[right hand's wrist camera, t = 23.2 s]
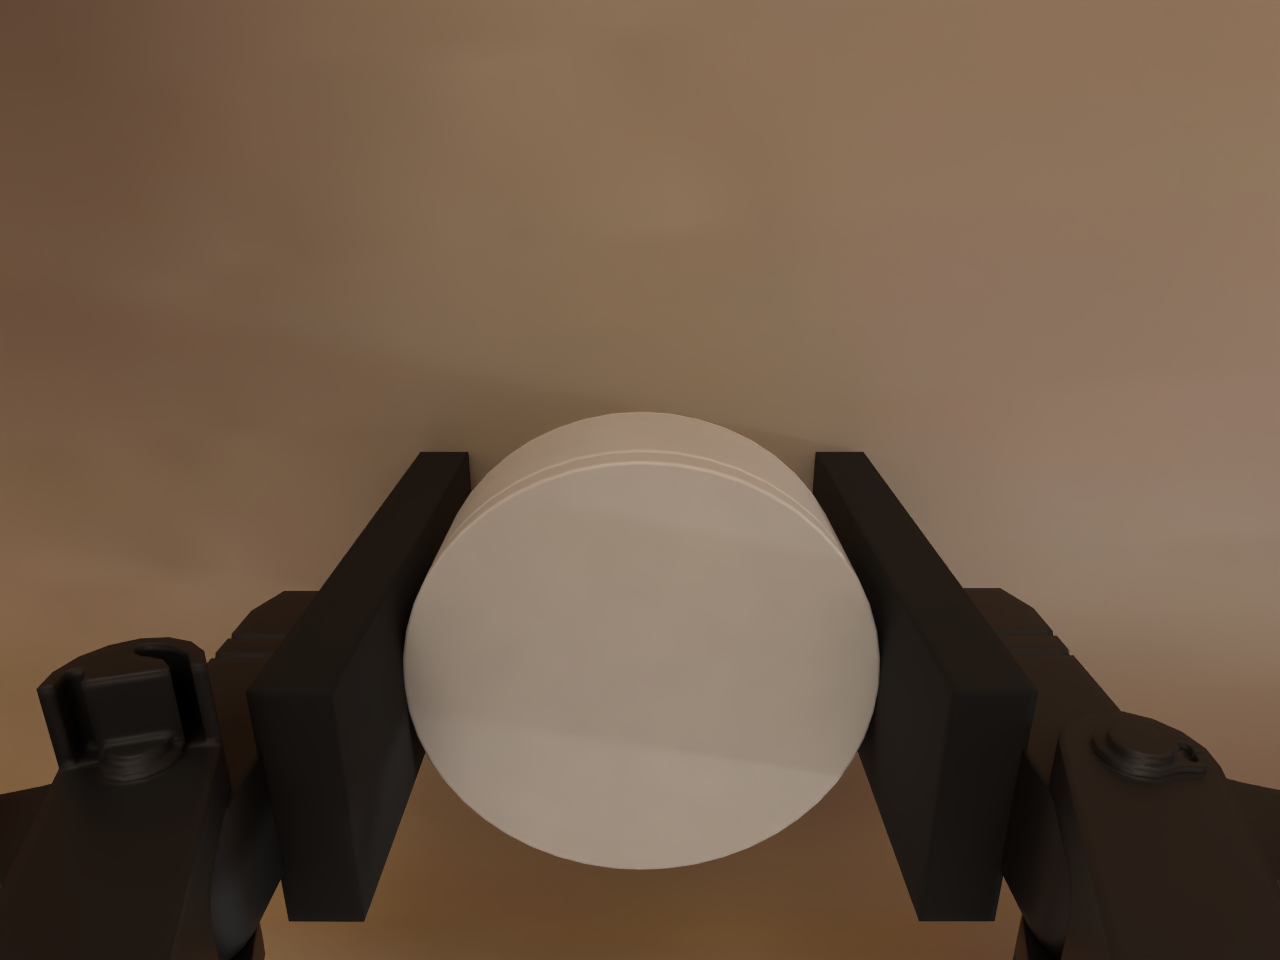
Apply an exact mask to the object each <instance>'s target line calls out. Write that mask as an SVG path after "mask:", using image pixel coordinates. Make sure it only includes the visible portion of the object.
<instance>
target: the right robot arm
mask: <svg viewBox="0 0 1280 960" xmlns="http://www.w3.org/2000/svg"><path fill="white" fill-rule="evenodd" d="M470 493H471V485H470V471H469V458H468V452H420V454H419V455H418V456H417V458H416V459H415V461H414V462H413V463H412V465H411V466H410V467H409V469H408V470H407V471H406V473H405V474H404V476H403V477H402V478H401V480H400V481H399V482H398V484H397V485H396V486H395V488H394V489H393V491H392V492H391V493H390V495H389V496H388V497H387V499H386V500H385V501H384V503H383V504H382V506H381V507H380V508H379V510H378V511H377V512H376V514H375V515H374V517H373V518H372V519H371V521H370V522H369V523H368V525H367V526H366V527H365V529H364V530H363V532H362V533H361V534H360V536H359V537H358V538H357V540H356V541H355V542H354V544H353V545H352V547H351V548H350V549H349V551H348V552H347V553H346V555H345V556H344V557H343V559H342V560H341V562H340V563H339V564H338V566H337V567H336V568H335V570H334V571H333V573H332V574H331V575H330V577H329V578H328V579H327V581H326V582H325V583H324V585H323V586H322V588H321V589H320V590H319V591H283V592H282V593H280V594H278V595H277V596H275V597H273V598H272V599H270V600H269V601H267V602H265V603H264V604H262V605H260V606H259V607H257V608H255V609H254V610H252V611H251V612H250V613H249V614H248V615H247V617H246V618H245V619H244V620H243V621H242V623H241V624H240V625H239V626H238V627H237V628H236V630H235V631H234V632H233V633H232V638H231V639H227V640H226V641H225V643H224V644H223V645H222V646H221V647H220V649H219V650H218V651H217V652H216V653H215V654H216V656H215V658H211V659H210V660H209V662H208V663H206V658H205V653H204V651H203V650H202V649H201V648H199V647H198V646H196V645H195V644H194V643H192V642H191V641H185V640H180V639H175V638H170V637H164V638H142V639H136V640H131V641H127V642H122V643H117V644H113V645H108V646H106V647H103V648H101V649H98V650H95V651H93V652H90V653H87V654H85V655H82V656H80V657H77V658H76V659H74V660H72V661H71V662H69V663H67V664H66V665H64V666H62V667H61V668H59V669H57V670H56V671H54V672H52V673H51V675H50V676H49V677H48V678H47V679H46V680H45V681H44V682H43V683H42V684H41V685H40V686H39V687H38V688H37V693H38V696H39V700H40V703H41V707H42V710H43V714H44V717H45V720H46V724H47V727H48V731H49V734H50V738H51V741H52V745H53V748H54V752H55V755H56V759H57V762H58V765H59V770H58V772H57V774H56V776H55V778H54V780H53V782H52V784H49V785H45V786H41V787H36V788H31V789H26V790H21V791H16V792H11V793H6V794H1V795H0V960H264V958H265V950H264V943H263V937H262V931H261V926H260V920H261V918H262V916H263V914H264V912H265V910H266V908H267V906H268V904H269V902H270V900H271V898H272V896H273V894H274V892H275V890H276V888H277V886H278V884H279V882H280V880H281V882H282V887H283V893H284V898H285V903H286V908H287V914H288V919H289V921H334V922H364V920H365V918H366V915H367V912H368V909H369V907H370V904H371V901H372V898H373V896H374V893H375V890H376V887H377V885H378V882H379V879H380V876H381V874H382V871H383V868H384V865H385V862H386V860H387V857H388V854H389V851H390V849H391V846H392V843H393V840H394V838H395V835H396V832H397V829H398V827H399V824H400V821H401V818H402V815H403V813H404V810H405V807H406V804H407V802H408V799H409V796H410V793H411V791H412V788H413V785H414V782H415V780H416V777H417V774H418V771H419V769H420V766H421V763H422V760H423V757H424V755H425V750H424V748H423V746H422V744H421V742H420V740H419V738H418V736H417V733H416V730H415V727H414V724H413V721H412V718H411V716H410V713H409V709H408V704H407V698H406V692H405V684H404V670H403V652H404V644H405V636H406V629H407V625H408V622H409V618H410V615H411V611H412V608H413V604H414V602H415V599H416V597H417V595H418V593H419V591H420V589H421V586H422V584H423V582H424V580H425V578H426V576H427V574H428V572H429V569H430V567H431V566H432V564H433V561H434V559H435V557H436V555H437V553H438V551H439V549H440V547H441V545H442V543H443V541H444V539H445V537H446V535H447V533H448V531H449V529H450V527H451V525H452V523H453V521H454V519H455V517H456V515H457V513H458V512H459V510H460V508H461V507H462V505H463V504H464V502H465V501H466V499H467V498H468V496H469V495H470ZM813 495H814V497H815V499H816V500H817V502H818V503H819V505H820V506H821V508H822V509H823V511H824V513H825V514H826V516H827V518H828V520H829V522H830V524H831V526H832V528H833V530H834V532H835V534H836V536H837V538H838V540H839V542H840V544H841V546H842V547H843V549H844V551H845V553H846V555H847V557H848V559H849V561H850V563H851V566H852V567H853V569H854V571H855V573H856V575H857V577H858V579H859V581H860V584H861V586H862V588H863V590H864V592H865V595H866V597H867V599H868V601H869V604H870V607H871V611H872V614H873V618H874V621H875V625H876V629H877V635H878V644H879V652H880V672H879V687H878V692H877V697H876V703H875V708H874V712H873V715H872V718H871V721H870V723H869V726H868V729H867V732H866V735H865V737H864V739H863V741H862V743H861V745H860V747H859V749H858V753H859V756H860V759H861V761H862V764H863V767H864V770H865V772H866V775H867V778H868V781H869V783H870V786H871V789H872V792H873V795H874V797H875V800H876V803H877V806H878V808H879V811H880V814H881V817H882V820H883V822H884V825H885V828H886V831H887V833H888V836H889V839H890V842H891V844H892V847H893V850H894V853H895V856H896V858H897V861H898V864H899V867H900V869H901V872H902V875H903V878H904V880H905V883H906V886H907V889H908V892H909V894H910V897H911V900H912V903H913V905H914V908H915V911H916V914H917V917H918V919H919V921H995V915H996V910H997V905H998V900H999V894H1000V889H1001V884H1002V879H1003V876H1004V878H1005V880H1006V882H1007V884H1008V886H1009V888H1010V890H1011V892H1012V894H1013V896H1014V898H1015V900H1016V902H1017V904H1018V906H1019V908H1020V910H1021V912H1022V917H1021V921H1020V926H1019V931H1018V936H1017V941H1016V946H1015V951H1014V956H1013V960H1280V790H1276V789H1271V788H1266V787H1261V786H1256V785H1251V784H1246V783H1241V782H1238V781H1234V780H1230V779H1226V777H1225V775H1224V773H1223V771H1222V769H1221V767H1220V766H1219V764H1218V763H1217V762H1216V761H1215V759H1214V758H1213V757H1212V756H1211V754H1210V753H1209V752H1208V751H1207V749H1206V748H1204V747H1203V746H1201V745H1200V744H1198V743H1197V742H1196V741H1194V740H1193V739H1191V738H1190V737H1188V736H1187V735H1186V734H1184V733H1183V732H1181V731H1179V730H1176V729H1174V728H1172V727H1170V726H1167V725H1165V724H1163V723H1161V722H1158V721H1156V720H1154V719H1151V718H1147V717H1143V716H1139V715H1135V714H1131V713H1127V712H1122V711H1120V709H1119V708H1118V707H1117V706H1116V705H1115V704H1114V702H1113V701H1112V700H1111V699H1110V698H1109V697H1108V695H1107V694H1106V693H1105V692H1104V691H1103V690H1102V688H1101V687H1100V686H1099V685H1098V684H1097V682H1096V681H1095V680H1094V679H1093V678H1092V677H1091V675H1090V674H1089V673H1088V672H1087V671H1086V670H1085V668H1084V667H1083V666H1082V665H1081V664H1080V663H1079V661H1078V660H1077V659H1076V658H1075V657H1074V655H1069V650H1068V648H1067V647H1066V646H1065V645H1064V644H1063V643H1062V641H1061V640H1060V639H1059V638H1058V637H1057V636H1053V631H1052V630H1051V628H1050V627H1049V626H1048V625H1047V624H1046V623H1045V621H1044V620H1043V619H1042V618H1041V617H1040V616H1039V614H1038V613H1037V612H1036V611H1035V610H1034V609H1033V608H1032V607H1031V606H1029V605H1027V604H1026V603H1024V602H1022V601H1021V600H1019V599H1017V598H1016V597H1014V596H1012V595H1011V594H1009V593H1007V592H1006V591H1004V590H1002V589H1001V588H962V586H961V585H960V584H959V582H958V581H957V579H956V578H955V577H954V575H953V574H952V573H951V571H950V570H949V568H948V567H947V566H946V564H945V563H944V562H943V560H942V559H941V558H940V556H939V555H938V553H937V552H936V551H935V549H934V548H933V547H932V545H931V544H930V543H929V541H928V540H927V538H926V537H925V536H924V534H923V533H922V532H921V530H920V529H919V527H918V526H917V525H916V523H915V522H914V521H913V519H912V518H911V517H910V515H909V514H908V512H907V511H906V510H905V508H904V507H903V506H902V504H901V503H900V501H899V500H898V499H897V497H896V496H895V495H894V493H893V492H892V491H891V489H890V488H889V486H888V485H887V484H886V482H885V481H884V480H883V478H882V477H881V476H880V474H879V473H878V471H877V470H876V469H875V467H874V466H873V465H872V463H871V462H870V460H869V459H868V458H867V456H866V455H865V454H864V452H816V457H815V470H814V483H813Z"/></svg>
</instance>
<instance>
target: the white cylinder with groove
mask: <svg viewBox="0 0 1280 960" xmlns="http://www.w3.org/2000/svg"><path fill="white" fill-rule="evenodd" d="M403 670H404V684H405V692H406V698H407V704H408V709H409V713H410V716H411V718H412V721H413V724H414V727H415V730H416V733H417V736H418V738H419V740H420V742H421V744H422V746H423V748H424V750H425V752H426V753H427V755H428V757H429V759H430V761H431V762H432V764H433V765H434V767H435V768H436V769H437V771H438V772H439V774H440V775H441V777H442V778H443V779H444V781H445V782H446V783H447V784H448V785H449V787H450V788H451V789H452V790H453V791H454V792H455V793H456V794H457V795H458V796H459V797H460V799H461V800H462V801H463V802H464V803H466V804H467V805H468V806H469V807H470V808H471V809H473V810H474V811H475V812H476V813H477V814H478V815H480V816H481V817H482V818H483V819H484V820H486V821H487V822H489V823H490V824H492V825H494V826H495V827H497V828H498V829H500V830H501V831H503V832H504V833H506V834H507V835H509V836H511V837H513V838H515V839H517V840H519V841H521V842H523V843H525V844H527V845H529V846H531V847H533V848H536V849H538V850H541V851H543V852H546V853H549V854H551V855H554V856H557V857H560V858H564V859H567V860H571V861H575V862H579V863H583V864H588V865H594V866H601V867H607V868H615V869H635V870H647V869H667V868H675V867H682V866H688V865H695V864H699V863H703V862H707V861H711V860H715V859H719V858H722V857H726V856H728V855H731V854H734V853H736V852H739V851H741V850H744V849H747V848H749V847H752V846H754V845H756V844H758V843H760V842H761V841H763V840H765V839H767V838H769V837H771V836H773V835H775V834H777V833H778V832H780V831H781V830H783V829H784V828H786V827H787V826H789V825H790V824H792V823H793V822H795V821H796V820H798V819H799V818H800V817H802V816H803V815H804V814H805V813H806V812H807V811H809V810H810V809H811V808H812V807H813V806H815V805H816V804H817V803H818V802H819V801H820V800H821V799H822V798H823V797H824V796H825V795H826V794H827V793H828V791H829V790H830V789H831V788H832V787H833V786H834V785H835V784H836V783H837V782H838V780H839V779H840V777H841V776H842V775H843V773H844V772H845V770H846V769H847V767H848V766H849V765H850V763H851V762H852V760H853V759H854V757H855V755H856V753H857V751H858V749H859V747H860V745H861V743H862V741H863V739H864V737H865V735H866V732H867V729H868V726H869V723H870V721H871V718H872V715H873V712H874V708H875V703H876V697H877V692H878V687H879V672H880V652H879V644H878V635H877V629H876V625H875V621H874V618H873V614H872V611H871V607H870V604H869V601H868V599H867V597H866V595H865V592H864V590H863V588H862V586H861V584H860V581H859V579H858V577H857V575H856V573H855V571H854V569H853V567H852V566H851V563H850V561H849V559H848V557H847V555H846V553H845V551H844V549H843V547H842V546H841V544H840V542H839V540H838V538H837V536H836V534H835V532H834V530H833V528H832V526H831V524H830V522H829V520H828V518H827V516H826V514H825V513H824V511H823V509H822V508H821V506H820V505H819V503H818V502H817V500H816V499H815V497H814V495H813V494H812V492H811V491H810V490H809V489H808V488H807V487H806V485H805V484H804V483H803V482H802V481H801V480H800V478H799V477H798V476H797V475H796V474H795V473H794V472H793V471H792V470H791V469H790V468H788V467H787V466H786V465H785V464H784V463H783V462H782V461H780V460H779V459H778V458H777V457H776V456H775V455H773V454H772V453H770V452H769V451H767V450H766V449H764V448H763V447H761V446H760V445H758V444H757V443H755V442H754V441H752V440H750V439H748V438H746V437H744V436H742V435H740V434H738V433H736V432H734V431H732V430H729V429H727V428H725V427H722V426H719V425H716V424H713V423H710V422H707V421H704V420H701V419H697V418H692V417H686V416H681V415H676V414H671V413H656V412H627V413H612V414H607V415H602V416H596V417H591V418H586V419H582V420H579V421H576V422H573V423H570V424H567V425H564V426H561V427H558V428H555V429H553V430H551V431H549V432H547V433H545V434H543V435H541V436H539V437H536V438H534V439H532V440H531V441H529V442H528V443H526V444H524V445H523V446H521V447H520V448H518V449H517V450H515V451H514V452H512V453H511V454H509V455H508V456H507V457H506V458H504V459H503V460H502V461H501V462H500V463H499V464H497V465H496V466H495V467H494V468H493V469H492V470H491V471H489V472H488V473H487V474H486V476H485V477H484V478H483V479H482V480H481V481H480V483H479V484H478V485H477V486H476V487H475V488H474V489H473V491H472V492H471V493H470V495H469V496H468V498H467V499H466V501H465V502H464V504H463V505H462V507H461V508H460V510H459V512H458V513H457V515H456V517H455V519H454V521H453V523H452V525H451V527H450V529H449V531H448V533H447V535H446V537H445V539H444V541H443V543H442V545H441V547H440V549H439V551H438V553H437V555H436V557H435V559H434V561H433V564H432V566H431V567H430V569H429V572H428V574H427V576H426V578H425V580H424V582H423V584H422V586H421V589H420V591H419V593H418V595H417V597H416V599H415V602H414V604H413V608H412V611H411V615H410V618H409V622H408V625H407V629H406V636H405V644H404V652H403Z"/></svg>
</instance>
